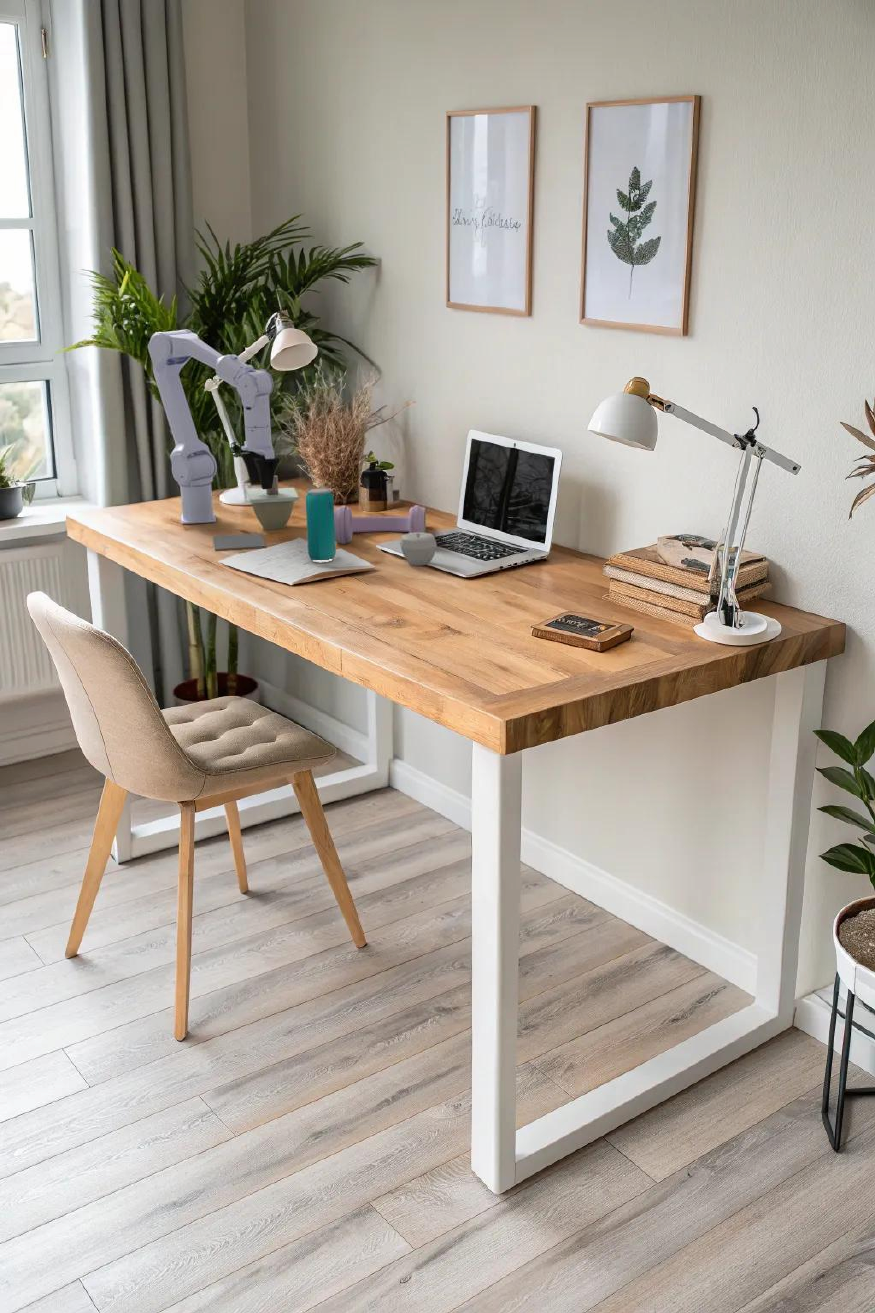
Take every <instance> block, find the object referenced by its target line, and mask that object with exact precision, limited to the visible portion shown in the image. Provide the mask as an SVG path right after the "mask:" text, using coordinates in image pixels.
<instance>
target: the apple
mask: <svg viewBox="0 0 875 1313" xmlns="http://www.w3.org/2000/svg"><path fill="white" fill-rule="evenodd" d="M399 545H400V549H401V552H402V555H403V556H404V558H405V560H406V562H407V563H408V565H411V566H416V567H418V566H419V567H420V566H422V567H423V566H426V565H428V564H429V563H430V562H432V561H433V558H434V557H435V553H436V550H437V547H438V544H437V542H436V538H435V536H434V535H433V534H432V533H429V532H428V533H427V532H426V533H423V532H415V533H409V532H408V533H405V534H402V535H401V537H400V542H399Z"/></svg>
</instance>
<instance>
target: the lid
mask: <svg viewBox="0 0 875 1313" xmlns="http://www.w3.org/2000/svg"><path fill="white" fill-rule="evenodd" d="M246 495H247V497H248V500H249V503H250V504H252V503H265V502H282V501H294V502H296V501H300V497H299V495H298V492H297V491H296V489H295V488H294V487H284V488H280V487H279V478H278V475H275V474H274V479H273V485H272V488H271V489H262V488H261V489H247V490H246Z"/></svg>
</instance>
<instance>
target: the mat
mask: <svg viewBox="0 0 875 1313" xmlns="http://www.w3.org/2000/svg"><path fill="white" fill-rule="evenodd" d="M262 533H263V532H261V533H259V532H258V533H245V534H244V533H243V534H242V533H241V534H230V535H229V534H227V535H215V536H213V535H212V541H213V545H214V546H213V547H214V551H216V552H218V551H219V552H220V551H222V552H223V551H234V550H237V551H238V550H249V549H266V548H267V545H266V541H265V539H264V537H263V536H264V535H263V534H262Z"/></svg>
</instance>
